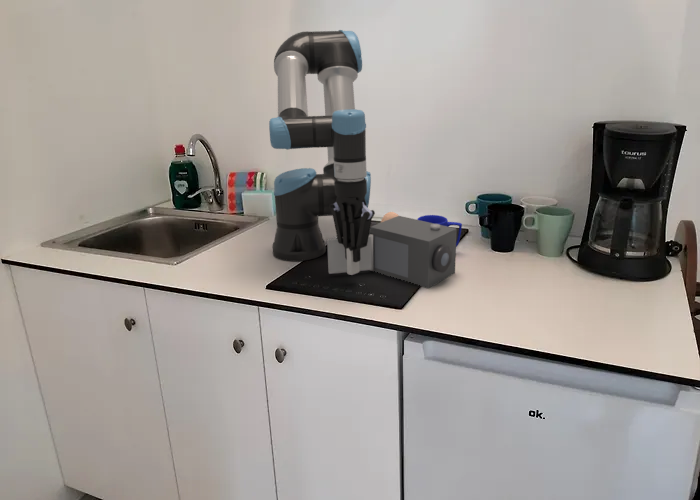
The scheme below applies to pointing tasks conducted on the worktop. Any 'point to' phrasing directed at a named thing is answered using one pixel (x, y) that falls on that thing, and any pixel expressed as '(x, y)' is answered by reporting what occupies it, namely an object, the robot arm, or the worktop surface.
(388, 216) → the egg
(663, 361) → the worktop surface
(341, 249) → the door
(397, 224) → the camera body
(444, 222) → the mug
